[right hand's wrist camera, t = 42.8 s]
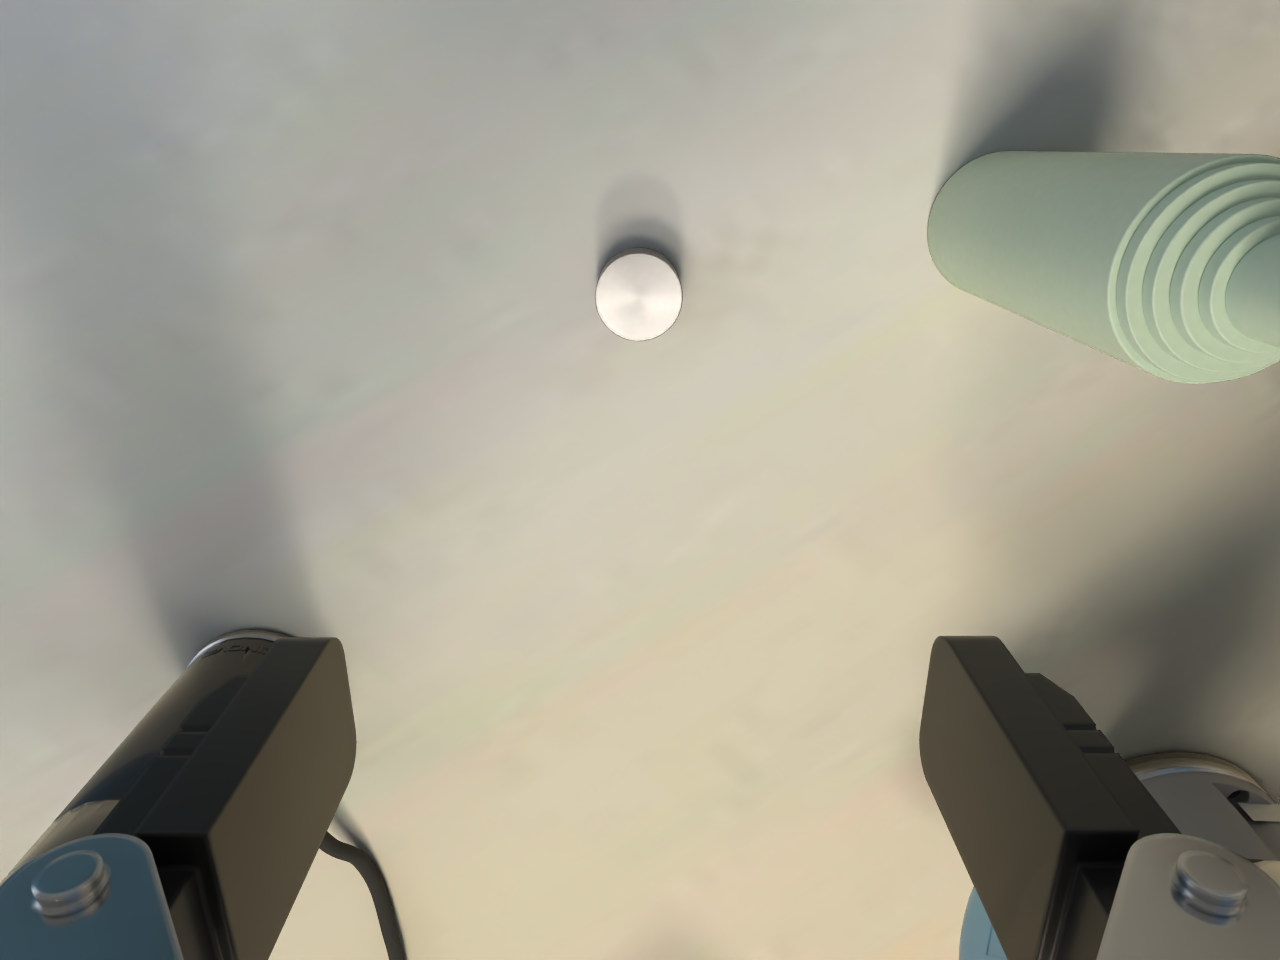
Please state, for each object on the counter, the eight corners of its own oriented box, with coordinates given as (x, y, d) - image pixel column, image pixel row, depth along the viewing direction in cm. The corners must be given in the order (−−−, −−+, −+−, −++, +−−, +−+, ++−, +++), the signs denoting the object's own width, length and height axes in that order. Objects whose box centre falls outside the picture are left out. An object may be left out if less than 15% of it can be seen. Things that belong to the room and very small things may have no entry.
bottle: (1090, 174, 42) (1577, 203, 20) (1030, 310, 44) (1406, 468, 23) (960, 133, 41) (1318, 118, 19) (905, 273, 44) (1170, 400, 22)
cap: (644, 229, 43) (645, 234, 41) (697, 296, 44) (700, 304, 42) (580, 284, 44) (577, 291, 42) (632, 347, 45) (632, 358, 43)
